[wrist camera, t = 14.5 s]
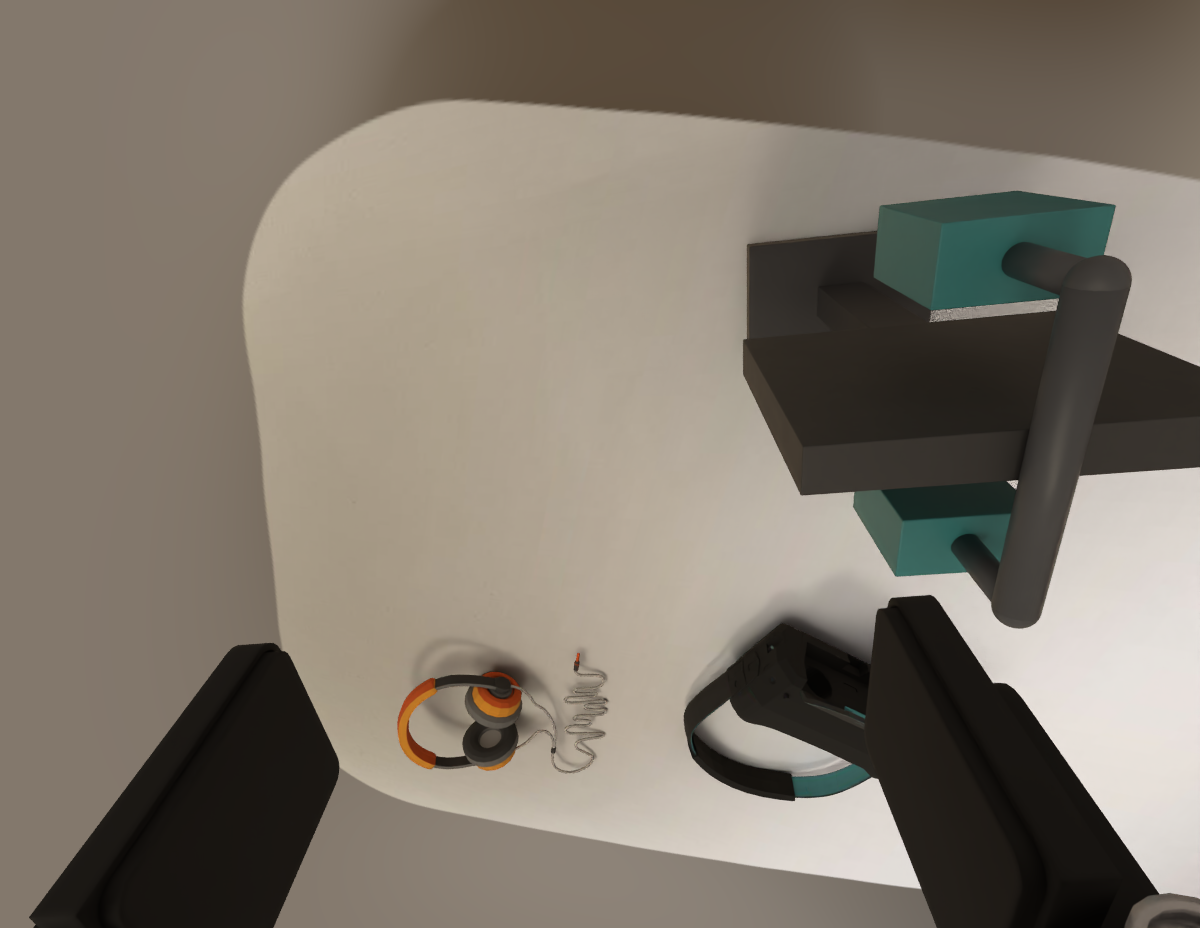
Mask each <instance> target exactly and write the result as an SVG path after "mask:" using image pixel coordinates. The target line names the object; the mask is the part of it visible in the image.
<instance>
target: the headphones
mask: <svg viewBox="0 0 1200 928" xmlns="http://www.w3.org/2000/svg"><path fill="white" fill-rule="evenodd" d="M579 656H580V653H577V658H576V661H575V662H574V671H575V674H576V675H578V676H595V677H600V678H602V683H601V684H600V685H599V686H596V687H584V688H575V689H574V690H573V692H574V694H578V695H586V696H569V697H565V698H564V702H565V703H567V704H583V703H588V704H585V705H584V709H586V710H592V711H598V710H603V711H604V713H599V714H581V715H575V716H574V717H573V720H575V721H585V722H589V724H575V725H569V726H567V727H566V728H565V732H566V733H567V734H570V735H601V736H595V737H588V738H583V739H580V740H578V741H576V743H575V748H576V749H577V750H578V751H580V752H582V753H585V754H587V755H589V756H591V757H592V760H591V761H590V763H589V764H587V765H586V766H585V767H583V768H581V769H578V770H575V771H564V770H561V769H559V768H557V767H556V766H555V763H554V753H555V751H556V746H555V745H556V727H555V724H554V721H553V719H552V717H551V716H550V714H549V713H548V712H547V710H546V709H545V708H543V707H542V706H540V705H538V704H537V703H536V702H535V701H534V700H533V698H532V696H531V695H530V694H529V693H528V692H527V691H525V690H524V689H522V688H521V687H520V686H519V685H518V683H517V682H516V681H515V680H514V679H513V678H511V677H510V676H508V675H507V674H504V673H500V672H489V673H486V674H483V675H482V676H477V675H450V676H445V677H441V678H438V679H435V678H430V679H428V680H426V681H425V682H423V683H422V684H420V685H419V686H417V687H416V688H415V689H414V690H413V691H412V692H411V693H410V694H409V695H408V696H407V698H406V699H405V701H404V703H403V705H402V708H401V711H400V713H399V717H398V737H399V742H400V745H401V748H402V750H403V751H404V753H405V754H406V756H407V757H408V758H409V759H410V760H412V761H413V762H414V763H416V764H418V765H420V766H422V767H424V768H427V769H432V768H433V767H434V768H439V769H457V768H464V767H469V766H475V765H476V766H478V767H479V768H480V769H483V770H486V771H488V770H496V769H499V768H501V767H503V766H505V765H506V764H507V763H508V762H509V761H510V760H511V759H512V757H513V755H514V753H515V750H517V749H519V748H521V747H523V746H524V745H526V744H527V743H528V742H529V741H530V740H531V739H532V738H533V737H534V736H535V735H536V734H538V733H540V732H544V733H547V734H548V735H549V736H550V737H551V739H552V749H551V753H552V755H551V760H552V764H553V766H554V768H555V769H556V770H557V771H559V772H562V773H569V774H571V773H576V772H580V771H582V770H584V769H586V768H587V767H589V766H590V765H591V764H592V762H593V760H594V756H593V755H592V754H590V753H588V752H586V751H584V750H581V749H579V748H578V747H577V744H578V743H579V742H581V741H585V740H591V739H598V738H603V737H604V736H605V734H604V733H602V732H569V731H567V729H568V728H571V727H587V726H590V725H591V724H592V721H591V720H588V719H577V717H593V716H602V715H605V714H606V712H607V710H606V709H605V708H588V707H587V706H596V705H606V704H607V701H606V700H589V701H573V702H571V701H566V700H567V699H577V698H592V697H596V696H597V695H598V693H597V692H576V690H591V689H598V688H600V687H602V686H603V685H604V682H605V678H604V676H602V675H599V674H580V673H578V672H577V671H578V668H579ZM454 686H470V687H469V689H468V691H467V693H466V696H465V706H466V709H467V711H468V713H469V714H470V716H471V717H472V718H473V719H474V720H475V722H474V723H473V724H472V725H471V726H470V727H469V728H468V730H467V731H466V733H465V735H464V737H463V750H464V753H465V755H466V756H462V757H451V758H446V757H438V756H436V755H435V754H434V753H433V752H430V751H428V750H426V749H424V748H422V747H421V746H420V745H418V744H417V743H416V742H415V741H414V740H413V738H412V736H411V735H410V732H409V718H410V716H411V714H412V712H413V711H414V709H415V708H416V707H417V706H418V705H419V704H420V703H421V702H423V701H424V700H426V699H427V698H429V697H430V696H432V695H434V694H435V693H436V692H437V690H440V689H443V688H447V687H454ZM521 691H522V692H524V693H525V694H527V695H528V696H529V698H530V699H531V701H532V703H533V704H534V705H535V706H537V707H539V708H540V709H542V710H543V711H544V712H545V713H546V714H547V715H548V717H549V718H550V720H551V722H552V725H553V729H554V738H553V736H552V735H551V733H550V732H548V731H546V730H538V731H536V732H535V733H534V734H533V735H532V736H531V737H530V738H529V739H528V740H527V741H526V742H524V743H523V744H521V745H520V746H518V747H516V746H517V743H518V731H517V728H516V725H515V723H514V722H515V721H516V720H517V719H518V717H519V714H520V712H521V710H522V701H521V694H522V692H521ZM590 694H594V695H590ZM594 702H604V703H594Z"/></svg>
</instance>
